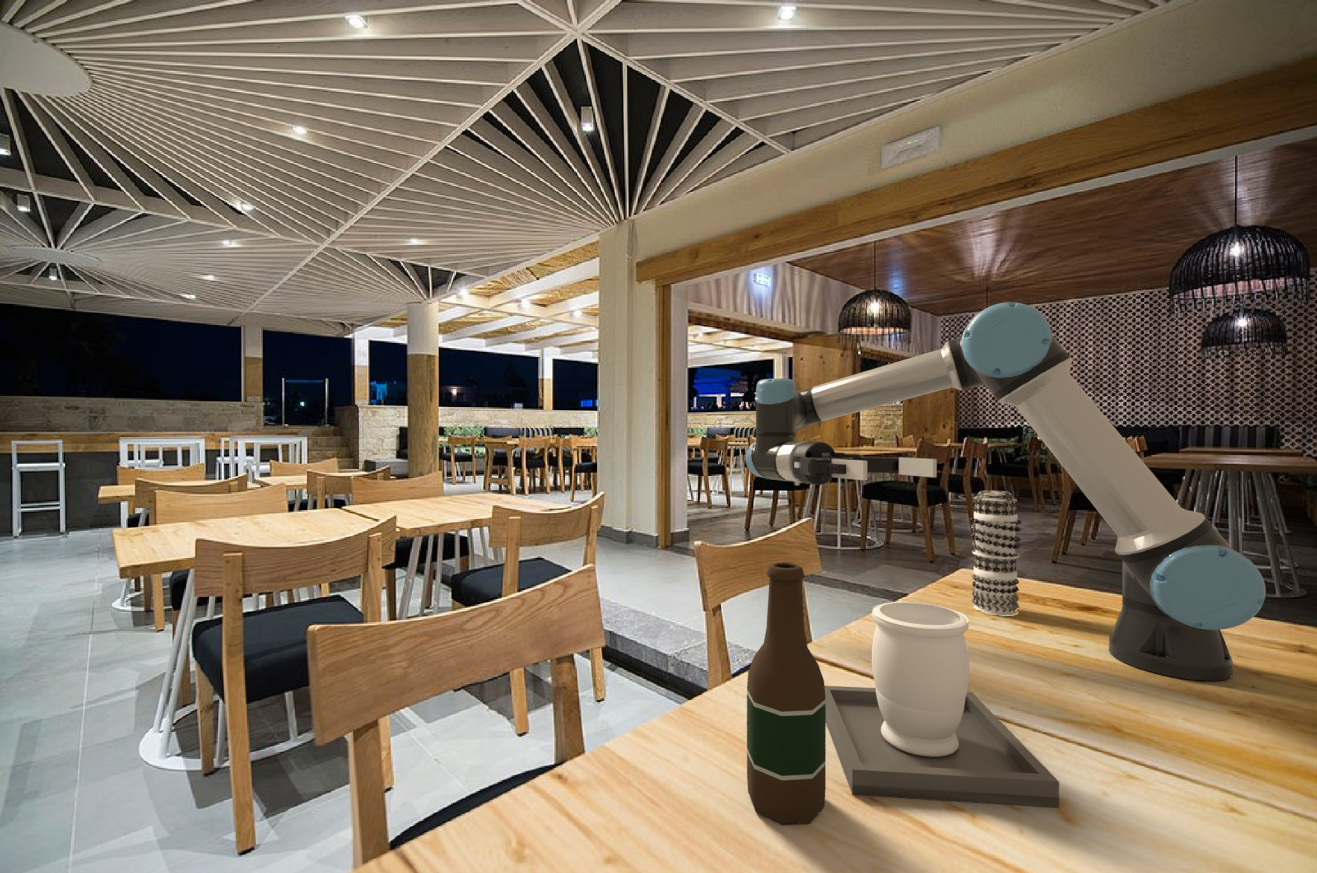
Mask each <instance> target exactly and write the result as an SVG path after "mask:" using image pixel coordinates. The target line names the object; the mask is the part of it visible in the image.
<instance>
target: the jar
mask: <svg viewBox="0 0 1317 873" xmlns="http://www.w3.org/2000/svg"><path fill="white" fill-rule="evenodd" d="M871 615H872V619H873V620H874V621H873V622H875V623H876V627H875V629H874V634H873V640H872V647H871V668H872V676H873V677H872V678H873V680H874V685H875V688H876V696H877V701H878V705H879V708H880V711H881V713H882V715H883V718H884V719H885V721H884V722H883V724H882V726H881V733H882V736H883V737H884V739H885V740H886V741H887V742H889V743H890V744H891V745H893V746H894V747H896V748H898V749H900V750H902V751H905V752H908V753H911V754H915V755H920V756H927V757H941V756H947V755H950V754H952V753H954V752H955V751H956V750H957V749H958V746H959V741H958V738H957V736H956V734H955V733H954V732H955V731H956V729H957V728H958V726H959V724H960V721H961V719H962V715H963V711H964V704H965V699H966V694H967V692H968V687H969V679H970V661H969V660H970V659H969V653H968V647H967V641H966V638H965V636H964V634H965V633H966V632H968V629H969V627H970V626H969V625H970V624H969V618H968V617H967V616H966V615H964V614H963V613H961V612H959V611H956V610H954V609H952V608H948V607H945V606H940V605H937V604H930V603H924V602H915V601H914V602H913V601H912V602H911V601H894V602H893V601H890V602H884V603H879V604H876V605H874V606H873V607H872V608H871Z"/></svg>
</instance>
